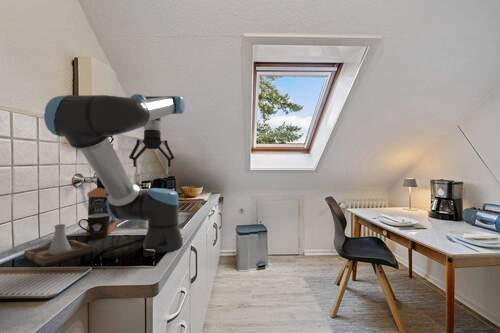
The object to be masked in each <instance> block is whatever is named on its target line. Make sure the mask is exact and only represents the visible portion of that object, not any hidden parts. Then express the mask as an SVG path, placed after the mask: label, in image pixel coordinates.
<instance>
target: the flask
mask: <svg viewBox="0 0 500 333" xmlns="http://www.w3.org/2000/svg"><path fill="white" fill-rule="evenodd" d="M65 227H66V224H64V223H60V224H56V225H55V224H54V235H53V238H52V241H51V243H50V244H49V245H50V247H49V250H48V252H47V253H48V255H58V254H62V253H65V252H69V251H72V248H71V246H70V244H69V242H68V238H67V235H66V232H65Z"/></svg>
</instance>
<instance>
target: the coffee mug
mask: <svg viewBox="0 0 500 333" xmlns="http://www.w3.org/2000/svg"><path fill="white" fill-rule="evenodd" d="M109 218H110V215H109V214H106V213H103V214H93V215H89V216H88V215H87V218H81V219H80V220H78V222H77V223H78V224H77V225H78V226H79V228H81V229H82V230H84V231H85V232H86V231H88V232H89V233H90V235H89V236H90V240H94V241H95V240H102V239H105V238H106V239H107V237H108V235H109V234H108V226H109ZM81 221H85V222H87V224H88V223H89V229H90V230H87V229H86V227H83V226H82V225H81Z"/></svg>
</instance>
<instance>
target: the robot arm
mask: <svg viewBox="0 0 500 333" xmlns="http://www.w3.org/2000/svg"><path fill="white" fill-rule="evenodd" d="M185 108H186V107H185V101H184V99H183V97H182V96H178V95H173V96H172V95H171V96H170V95H169V96H168V95H166V96H164V95H163V96H157V95H155V96H154V95H153V96H152V95H151V96H148V95H147V96H144V95H143V94H140V93H135V94H132V95H131V97H127V96H126V97H125V96H116V95H106V94H97V95H96V94H95V95H94V94H93V95H72V94H67V95H58V96H55V97H52V98H51V99H50V100H49V101H48V103H46V105H45V107H44V113H43V117H44V118H43V120H44V123H45V126H46V128H47V130H48V131H49V132H50V134H53V135H55V136H57V137H61V138H63V137H64V138H65V139H66V140H67V142H68V143H69V145H70V147H72V148H74V149H78V150H80V151H81V153H82V154H83V156H84V157H85V159H86V161H87V162H88V164H89V165H90V167H91V168H92V170H93V172H94V173H95V175H96V176H97V177H98V178H99V179H100V181H101V182H102V184H103V185H104V187H105V188H106V190H107V191H108V193H109V195H108V198H107V202H106V206H107V212H108V214H109V215H110V216H111V217H112V218H113V219H115V220H119V221H145V222H146V221H148V222H147V223H148V224H147V231H146V234H145V238H144V240H143V244H142V246H143V250H144V249H154V250H155V252H156V253H167V252H172V251H176V250H178V249H181V248H182V247H183V244H184V243H183V242H184V241H183V240H184V239H183V237H182V234H181V231H180V230H181V229H180V228H179V206H180V205H179V204H180V202H179V194H178V192H177V191H175V190H174V189H169V188H163V187H162V188H161V187H160V188H157V187H153V188H149V189H148V191H141V190H140V187H139V185H138V184H136V183H134V182H132V181H131V179H130V177H129V174H127V172H126V169H125V168H124V166H123V164H122V162H121V160H120V158H119V157H118V154H117V152H116V151H115V149H114V147H113V145H112V143H111V141H110V139H109V137H110V136H117V135H121V134H122V135H123V134H125V133H128V132H132V131H135V130H137V129H140V128H143V129H144V130H143V139H139V138H138V139H136V142H135V143H136V144H135V146H134V147H133V149H132V151H131V153H130V155H129V156H128V158H129V159H130V160H132V161H133V168H135V175H138V174H139V160H137V159H138V158H139V157H141V156H142V154H143V153H145V151H146V150H147V149H148V150H159V151H160V153H161V154H162V155H163V156H164V157H165V158H166V159H167V160H165V161H166V162H165V163H166V164H165V167H166V168H165V171H166V172H165V173H166V175H169V168H171V160H172V161H173V160H174V159H175V156H174V155H173V153H172V151H171V148H170V147H169V144H168V140H162V138H161V135H162V134H161V128H162V126H161V123H162V122H161V120H162V119H161V118H165V117H167V116H170V115H178V114H179V115H181V114H183V113H184V112H185ZM142 143H143V145H144V146H143V147H142V149H140V151H139V152H138V153H137V154H136V152H137V151H138V148H139V146H140V145H142ZM161 144H163V146H164V147H165V148H166V150H167V152H168V154H169V155H170V156H169V155H168V154H167V153H166V152H165V151H164V150H163V149H162V147H161ZM155 252H154V253H155Z"/></svg>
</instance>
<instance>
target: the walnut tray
mask: <svg viewBox="0 0 500 333" xmlns="http://www.w3.org/2000/svg"><path fill="white" fill-rule="evenodd" d="M67 240H68V239H67ZM68 242H69V244H70V246H71V248H72V251H69V252H65V253H62V254H58V255H48V253H47V252H48V250H49V247H50V245H51V244H48V245H44V246H43V245H42V246H39V247H36V248H31V249H27V250H23V252H24V259H26V260H28V261H30V262H32V263H35V264H37V265H39V266H42V267H43V268H46V267H48V266H52V265H55V264H58V263H63V262H65V261H68V260H72V259H75V258H79V257H82V256H86V255H88V254H92V253H93V246H92V245H91V244H87V243H84V242H80V241H78V240H74V239H69V240H68Z"/></svg>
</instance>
